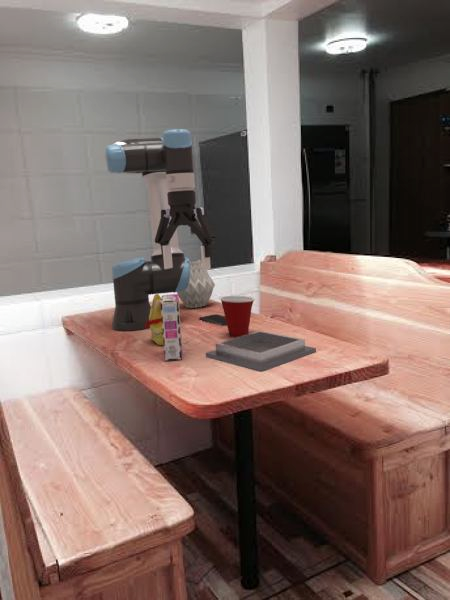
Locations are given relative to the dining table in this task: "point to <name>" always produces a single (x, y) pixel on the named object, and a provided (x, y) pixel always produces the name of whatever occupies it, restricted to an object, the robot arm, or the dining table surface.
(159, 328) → the chocolate bunny
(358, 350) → the dining table surface
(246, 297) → the plastic cup
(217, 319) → the phone
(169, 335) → the candy bar box
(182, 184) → the robot arm
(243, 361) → the grey square tray
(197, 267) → the vase
